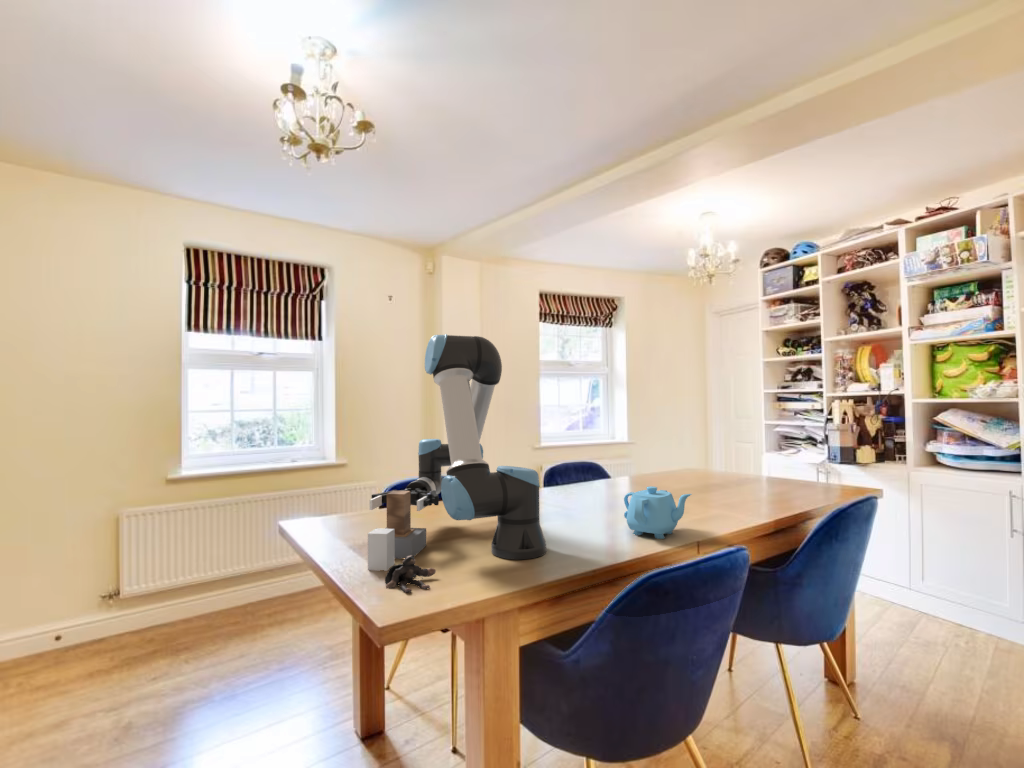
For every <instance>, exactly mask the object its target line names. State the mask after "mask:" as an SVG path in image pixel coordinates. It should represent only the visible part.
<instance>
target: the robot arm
mask: <svg viewBox="0 0 1024 768" xmlns="http://www.w3.org/2000/svg"><path fill="white" fill-rule="evenodd" d="M428 340H429V341H428V343H427V346H426V349H425V355H424V369H425V372H426V374H428V375H432V376H433V382H434V383H435V384H436V385H437V386H439V389H440V396H441V403H442V410H443V411H442V412H443V419H444V425H445V432H446V439H447V443H442V440H441V439H439V438H424V439H423V438H422V439H421V440H419V442H418V452H417V455H418V456H417V457H418V479H416V480H414V481H411V482H410V483H409V484H407V486H406V488H405V489H401V490H398V489H392V490H389V491H385V492H380V493H373V494H371V499H369V511H373V510H375V509H376V508H380V507H381V506H382V505H383V504H387V494H388V493H390V492H392V491H410V502H411V505H412V506H416V511H417V512H420V511H422V510H424V509H425V508H426V507H428V506H432V505H433V506H439V503H440V502H439V501H440V500H439V498H440V497H439V494H441V498H442V503H443V506H444V510H445V511H446V513H447V515H449V517H450V518H451V519H453V520H455V521H465V520H466V521H472V520H474V519H475V520H476V519H483V518H484V519H485V518H492V517H497V524H496V528H495V531H494V534H493V538H492V541H491V548H490V549H491V554H492V555H493V556H495V557H498V558H501V559H508V560H530V559H536V558H540V557H542V556H543V555H545V554H546V553H547V543H546V539H545V536H544V532H543V530H542V527H541V523H540V488H541V485H540V477H539V473H538V471H536V470H534V469H532V468H529V467H521V466H512V465H497V467H496V471H494V472H492V471H491V470H490V465H489V463H488V462H487V461H485V460H484V459H483V458H484V448H483V446H482V444H481V442H480V441H481V438H482V434H483V432H484V431H483V430H484V426H485V423H486V421H487V420H486V419H487V416H488V412H489V409H490V405H491V401H492V399H493V398H492V397H493V394H494V390H495V386H497V385H498V384H499V383H500V380H501V377H502V370H503V365H502V364H503V363H502V359H501V355H500V353H499V351H498V349H497V347H496V346H495V345H494V344H493V343H492V342H491V340H489V339H487V338H485V337H483V336H480V335H478V336H477V335H473V336H471V335H452V334H447V333H445V334H433V335H432V336H431V337H430V339H428ZM443 467H448V468H447V470H446V471H445V472H446V475H445V476H444V477H443V475H442V468H443Z"/></svg>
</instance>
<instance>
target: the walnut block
mask: <svg viewBox="0 0 1024 768" xmlns="http://www.w3.org/2000/svg"><path fill="white" fill-rule="evenodd" d="M391 491H392V490H391ZM411 505H412V504H411V502H410V491H399V490H397V491H392V492H390V493H388V494H387V503H386V527H387V529H395V534H397V535H404V534H406V533H407V532H409V531H410V530H411V528H412V527H411V526H412V525H411V523H412V522H411V521H412V520H411V518H412V517H411V512H412V511H411V507H412V506H411Z"/></svg>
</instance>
